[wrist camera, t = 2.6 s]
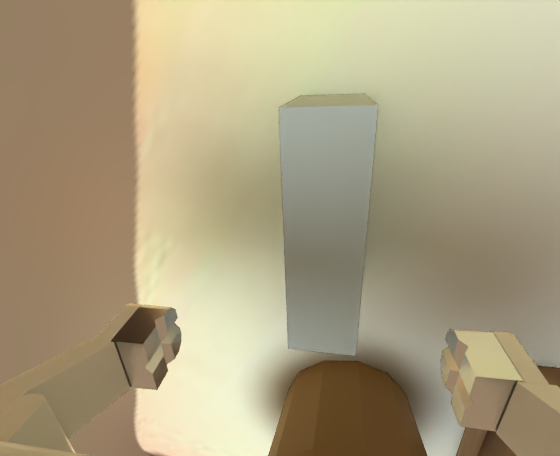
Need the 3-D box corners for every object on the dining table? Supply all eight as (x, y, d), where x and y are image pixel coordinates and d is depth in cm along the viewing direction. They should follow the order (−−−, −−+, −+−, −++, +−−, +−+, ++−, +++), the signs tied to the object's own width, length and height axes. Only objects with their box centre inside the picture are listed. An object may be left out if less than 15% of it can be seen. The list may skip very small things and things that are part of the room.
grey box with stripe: (299, 95, 18) (277, 108, 12) (365, 93, 17) (379, 105, 11) (301, 274, 23) (287, 348, 17) (352, 277, 22) (356, 355, 16)
